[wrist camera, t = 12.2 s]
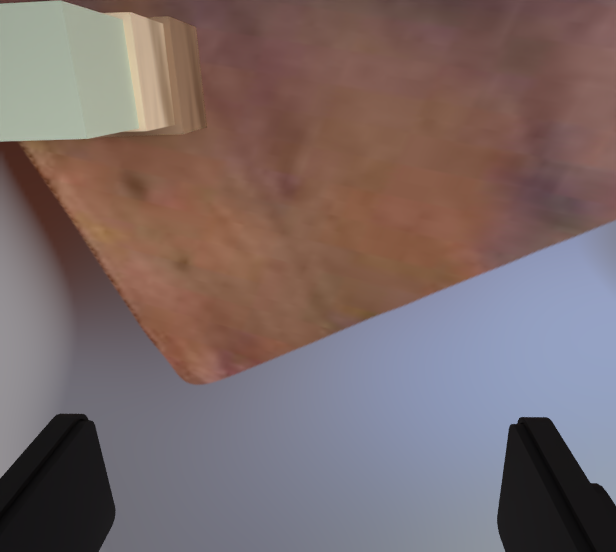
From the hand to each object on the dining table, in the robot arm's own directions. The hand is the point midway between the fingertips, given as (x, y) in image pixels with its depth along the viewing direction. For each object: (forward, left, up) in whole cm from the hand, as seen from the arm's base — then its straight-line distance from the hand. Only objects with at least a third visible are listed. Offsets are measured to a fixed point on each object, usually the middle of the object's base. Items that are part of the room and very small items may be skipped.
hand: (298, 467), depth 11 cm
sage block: (+13, -9, -19) cm, 25 cm away
